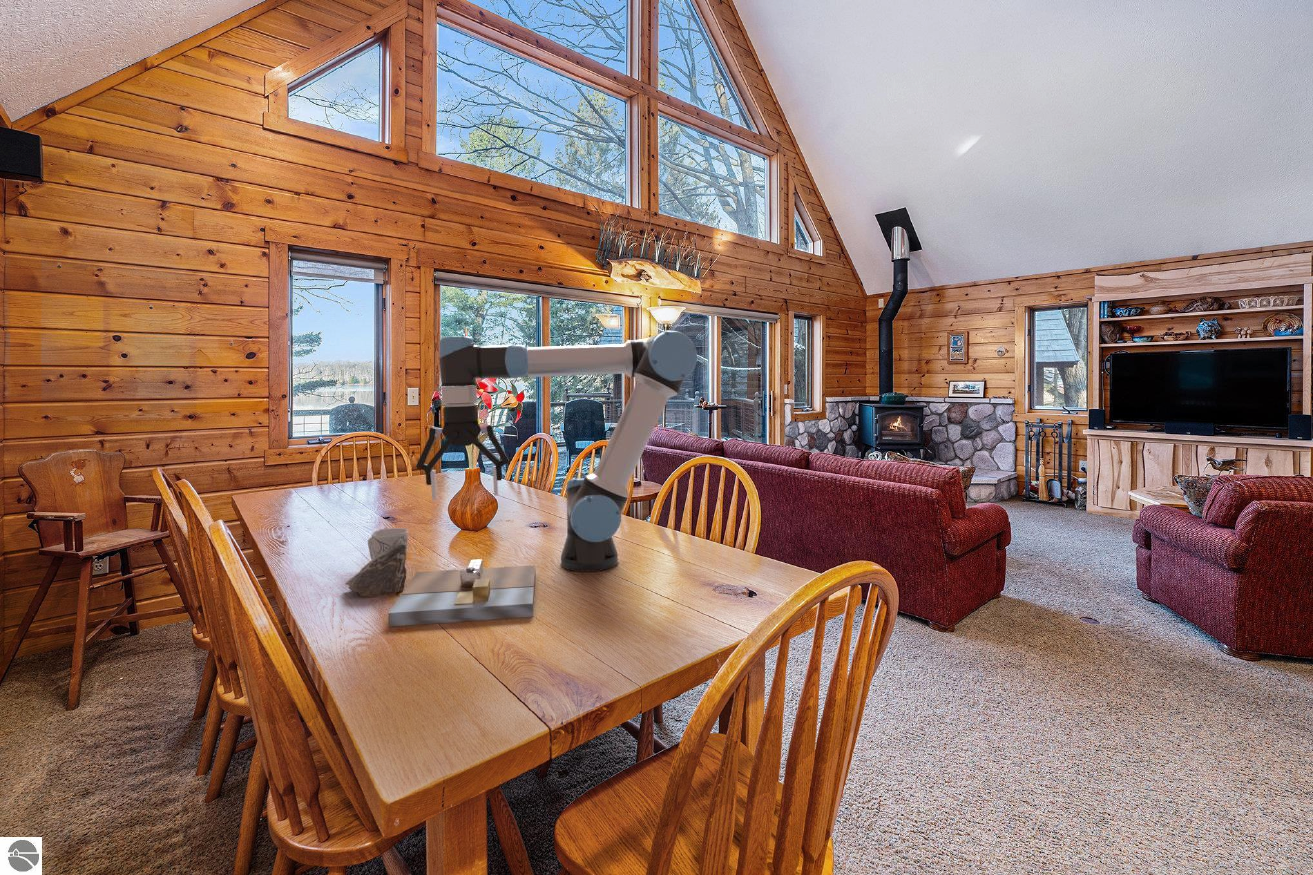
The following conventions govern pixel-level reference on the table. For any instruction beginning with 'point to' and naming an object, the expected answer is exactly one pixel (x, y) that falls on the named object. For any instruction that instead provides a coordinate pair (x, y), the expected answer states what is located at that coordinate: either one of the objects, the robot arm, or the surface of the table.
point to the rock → (382, 572)
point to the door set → (465, 597)
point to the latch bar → (471, 573)
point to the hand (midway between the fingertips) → (465, 496)
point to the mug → (385, 540)
